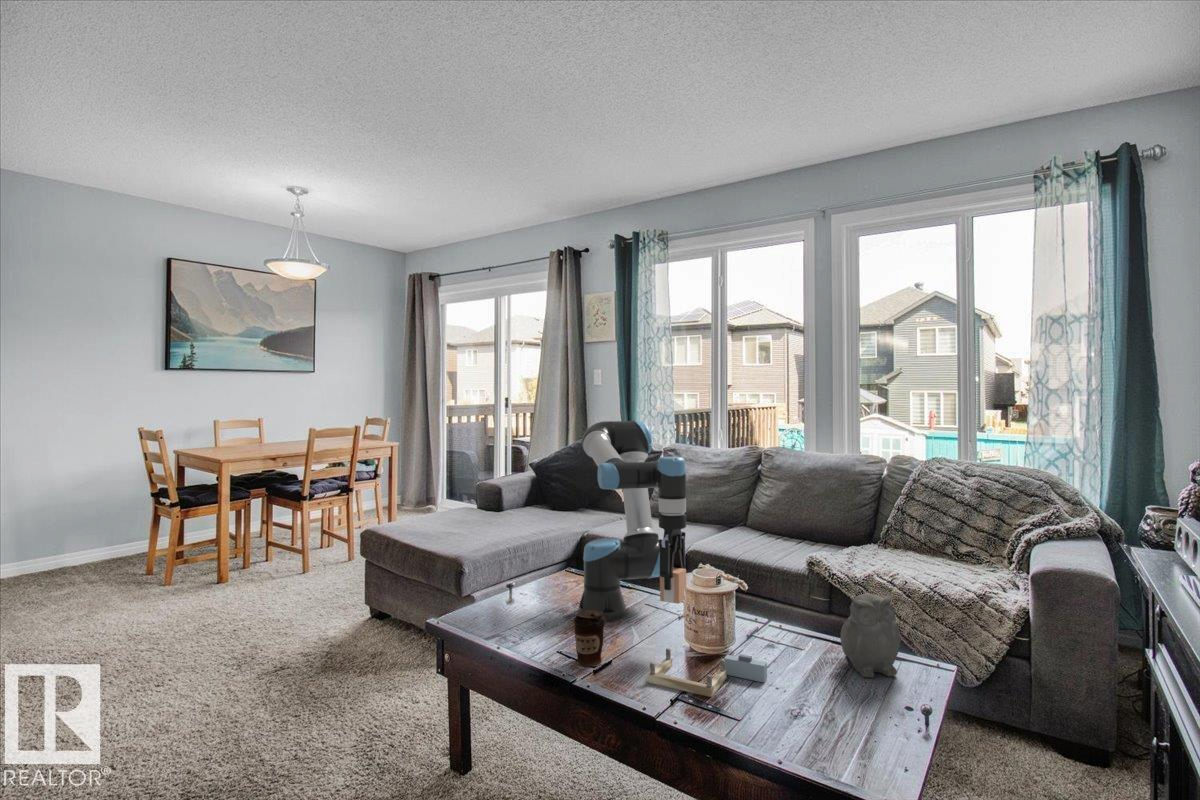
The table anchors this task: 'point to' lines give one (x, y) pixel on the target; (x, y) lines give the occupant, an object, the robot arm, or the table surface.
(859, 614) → the figurine
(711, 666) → the table surface
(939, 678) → the table surface
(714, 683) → the cradle
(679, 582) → the block
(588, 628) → the coffee cup
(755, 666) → the bar
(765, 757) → the table surface
